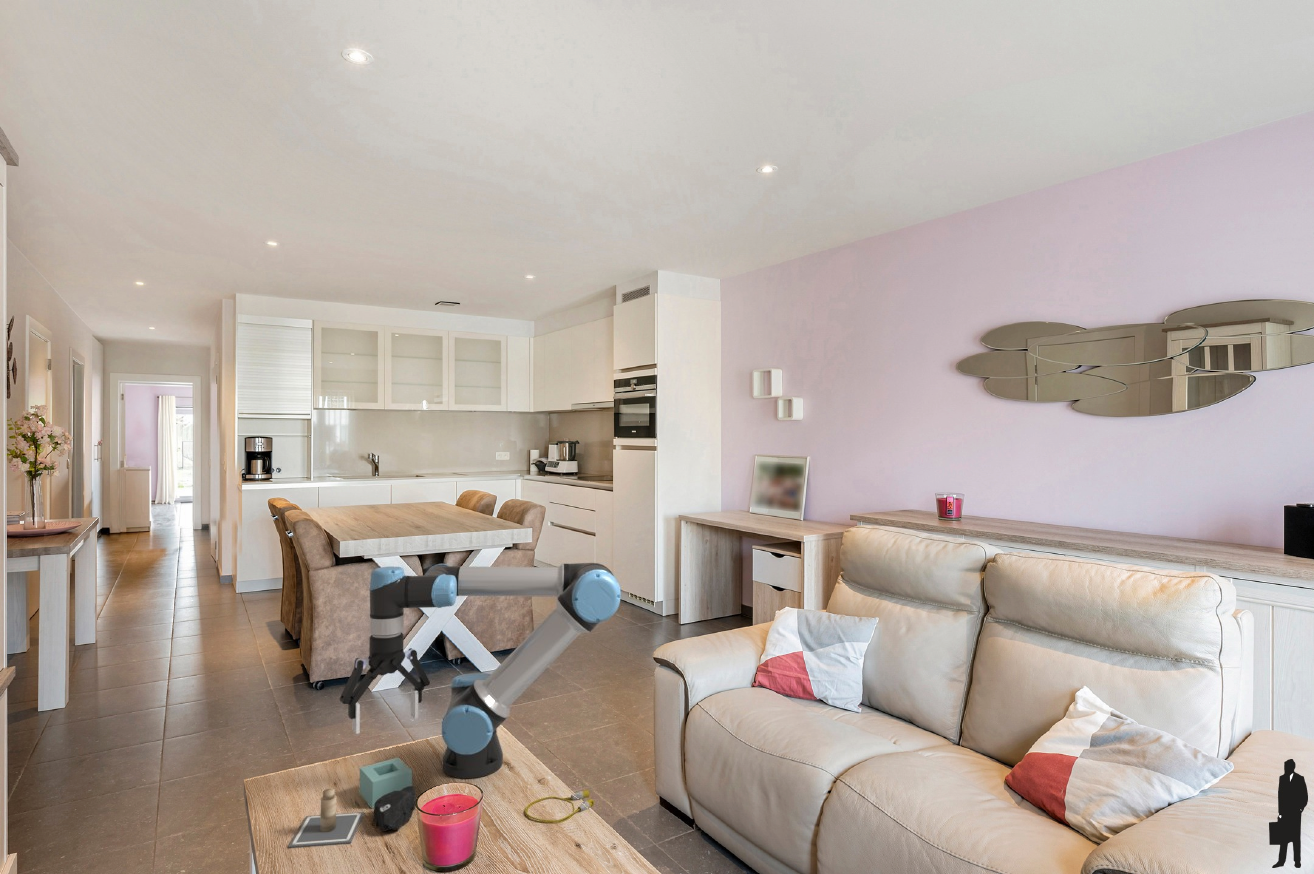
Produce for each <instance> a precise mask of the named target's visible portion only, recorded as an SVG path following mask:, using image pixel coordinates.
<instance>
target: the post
mask: <svg viewBox="0 0 1314 874" xmlns="http://www.w3.org/2000/svg"><path fill="white" fill-rule="evenodd" d="M336 814H337V795H336V794H335V788H332V787H330V788H326V789H324V790H323V792H322V797H321V798H320V814H319V815H320V831H321V832H330V831H332V830H334V829H335V828H336Z"/></svg>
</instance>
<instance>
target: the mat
mask: <svg viewBox="0 0 1314 874" xmlns="http://www.w3.org/2000/svg"><path fill="white" fill-rule="evenodd" d="M364 814H365V811H362V812H360V811H359V812H347V813H346V812H345V813H344V812H343V813H336V828H335V829H334V830H332V831H330V832H321V831H320V814H319V815H318V814H317V815H306V816H305V818H304V819H303V821H302V823H301V824H300V826H299V828H298V829H297V831H296V833H295V835H294V836H293V837H292V840H291V841H290V843H289V844H288V847H287V848H288V849H294V848H295V849H296V848H307V847H318V846H319V847H320V846H334V845H335V846H336V845H346V844H351V843H352V842H353V839H354V837H355V834H356V833H357V830H358V827H360V824H361V822H362V819H363V816H364Z"/></svg>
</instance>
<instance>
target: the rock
mask: <svg viewBox="0 0 1314 874" xmlns="http://www.w3.org/2000/svg"><path fill="white" fill-rule="evenodd" d="M416 802H417V795H416V789H415V786H413V785H412V786H411V787H410V786H408V787H406V788H403V789H402V790H400V791H393V792H390V793H388V794H385V795H383V796H382V797H381V798H379V799H378V800H377V801H376V802H375V804H374V808H373V820H374V826H375V827H376V828H379V829H380V831H381V832H386V831H388V830H392V831H393V830H394V831H399V830H400V829H401V827H402V826H405V825H406V824H407V823H409V821H410V819H411V818H412V816H413V813H414V811H415V810H416V804H417V803H416ZM415 803H416V804H415Z"/></svg>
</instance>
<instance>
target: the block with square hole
mask: <svg viewBox="0 0 1314 874" xmlns="http://www.w3.org/2000/svg"><path fill="white" fill-rule="evenodd" d="M408 786H410V787H411V786H413V770H412V769H411V768H410V767H409V766H407V764H406V763H405V762H403V760H401V759H400V758H399V757H395V758H391V759H388V760H387V759H386V760H384V761H380V762H376V763H374V764H373V763H372V764H368V765H365V766H361V767H360V768H359V786H358V787H359V788H358V789H359V790H358V791H359V792H358V793H359V795H360V796H361V797H362V799H363V800H364V801H365V802H366V803H367V804H368V806H369V807H370V808H371V809H373V810H374V804H375V802H376V801H377V800H378V799H379V798H381V797H382V796H383V795H385V794H388V793H390V792H393V791H400V790H402V789H403V788H406V787H408Z"/></svg>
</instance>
